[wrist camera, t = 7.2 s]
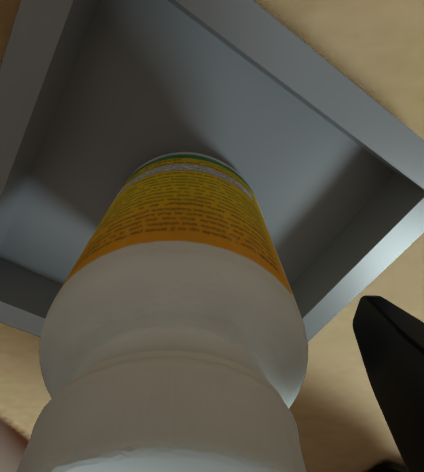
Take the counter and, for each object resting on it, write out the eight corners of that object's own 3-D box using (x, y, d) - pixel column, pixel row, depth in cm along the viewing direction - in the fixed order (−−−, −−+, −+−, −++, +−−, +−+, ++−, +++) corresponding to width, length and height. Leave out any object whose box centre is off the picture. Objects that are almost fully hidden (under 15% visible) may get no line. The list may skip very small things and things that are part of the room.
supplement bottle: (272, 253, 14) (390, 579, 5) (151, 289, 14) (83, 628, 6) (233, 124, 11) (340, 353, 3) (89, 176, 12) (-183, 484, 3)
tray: (231, 365, 18) (235, 410, 15) (-28, 257, 14) (-71, 295, 12) (427, 159, 12) (475, 183, 10) (100, -102, 9) (67, -153, 6)
